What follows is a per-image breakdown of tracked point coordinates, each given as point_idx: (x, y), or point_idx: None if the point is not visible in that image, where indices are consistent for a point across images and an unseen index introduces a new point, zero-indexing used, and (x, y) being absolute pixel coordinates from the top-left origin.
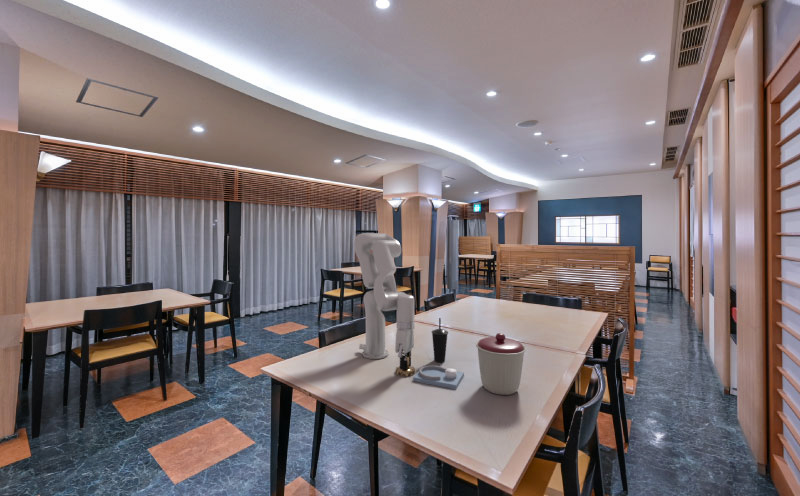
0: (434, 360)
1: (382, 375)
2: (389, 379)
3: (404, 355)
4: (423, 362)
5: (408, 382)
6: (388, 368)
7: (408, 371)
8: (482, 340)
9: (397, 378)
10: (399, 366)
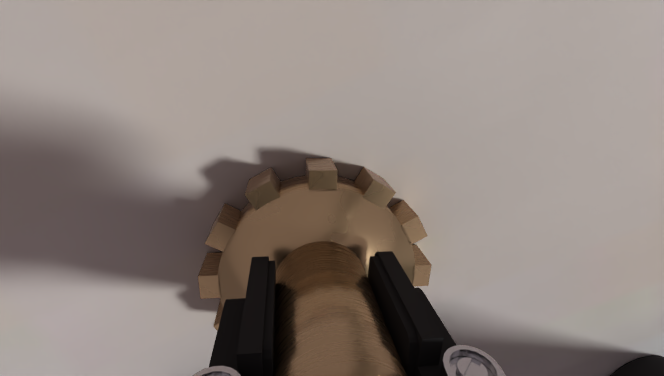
0: (634, 367)
1: (95, 43)
2: (45, 183)
3: (443, 358)
4: (594, 302)
5: (110, 368)
6: (352, 24)
7: None
8: None
9: (130, 249)
10: (365, 191)
